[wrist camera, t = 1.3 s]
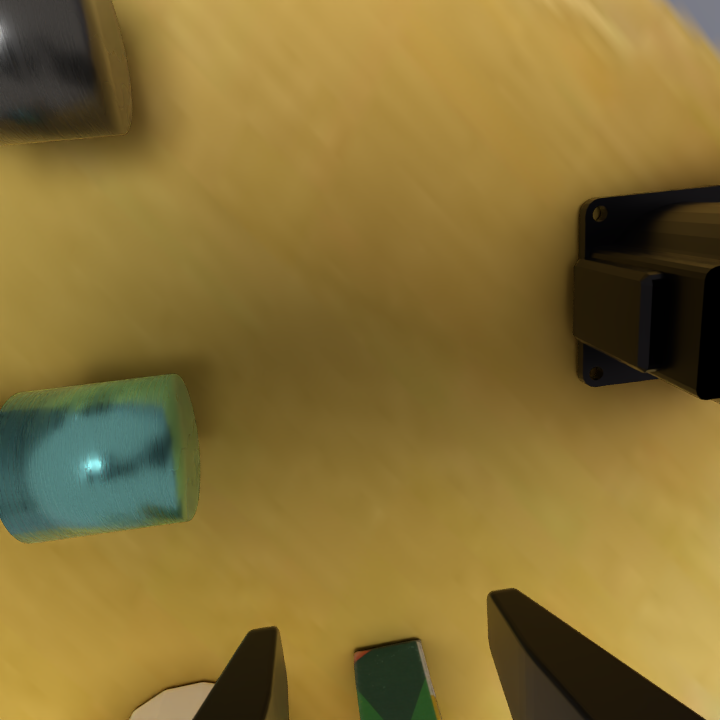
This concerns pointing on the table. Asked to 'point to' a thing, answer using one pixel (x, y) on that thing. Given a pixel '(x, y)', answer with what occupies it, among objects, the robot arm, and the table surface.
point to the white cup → (174, 703)
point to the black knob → (62, 71)
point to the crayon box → (395, 683)
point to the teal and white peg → (98, 458)
